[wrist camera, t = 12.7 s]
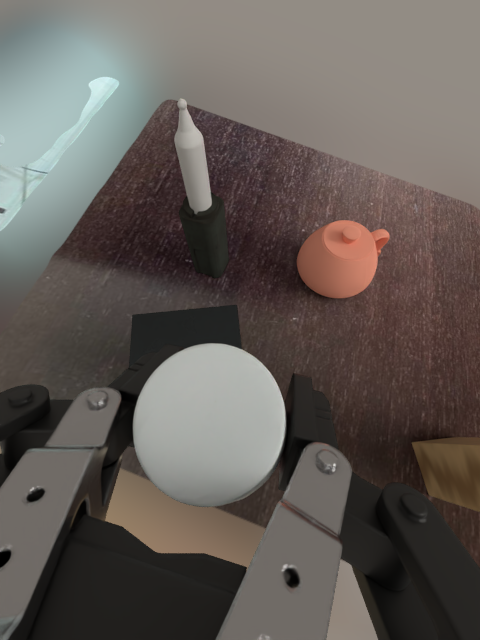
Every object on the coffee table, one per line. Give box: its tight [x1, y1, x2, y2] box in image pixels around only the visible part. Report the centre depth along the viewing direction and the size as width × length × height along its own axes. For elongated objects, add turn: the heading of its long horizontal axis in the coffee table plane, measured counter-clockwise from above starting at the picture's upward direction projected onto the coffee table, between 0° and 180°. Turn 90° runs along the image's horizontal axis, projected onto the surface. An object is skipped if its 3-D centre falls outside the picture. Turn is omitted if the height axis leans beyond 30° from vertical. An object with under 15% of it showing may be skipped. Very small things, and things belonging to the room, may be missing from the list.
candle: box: [175, 98, 229, 278], centre depth 35 cm, size 5×5×25 cm
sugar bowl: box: [297, 220, 390, 298], centre depth 41 cm, size 12×14×10 cm
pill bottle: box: [133, 343, 287, 507], centre depth 11 cm, size 5×5×8 cm
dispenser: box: [129, 305, 242, 367], centre depth 32 cm, size 6×10×15 cm, turn 96°
